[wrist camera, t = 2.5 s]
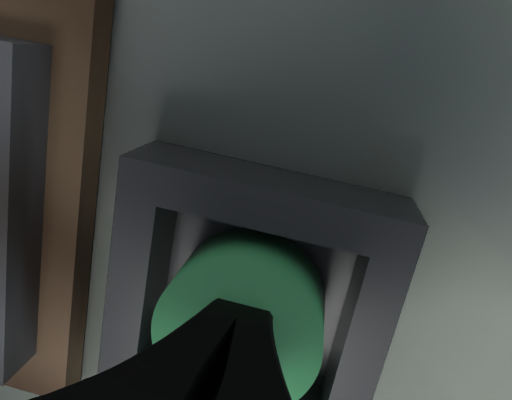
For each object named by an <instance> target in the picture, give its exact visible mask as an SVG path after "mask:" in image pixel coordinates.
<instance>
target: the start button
mask: <svg viewBox="0 0 512 400" xmlns="http://www.w3.org/2000/svg"><path fill="white" fill-rule="evenodd" d="M217 298H220V299H224V300H228V301H232V302H236V303H240V304H244V305H248V306H252V307H255V308H259V309H263V310H267V311H270V312H271V314H272V316H273V332H274V339H275V345H276V349H277V354H278V358H279V361H280V365H281V369H282V372H283V376H284V379H285V382H286V385H287V388H288V390H289V393H290V396H291V399H292V400H299V399H300V398H301V397H302V396H303V395H304V394H305V393H306V392H307V391H308V390H309V389H310V387H311V386H312V385H313V383H314V381H315V379H316V378H317V376H318V373H319V370H320V368H321V364H322V359H323V344H324V319H325V291H324V286H323V282H322V279H321V277H320V274H319V272H318V270H317V268H316V267H315V265H314V263H313V262H312V261H311V259H310V258H309V257H308V255H307V254H306V253H305V252H304V251H303V250H302V249H301V248H299V247H298V246H297V245H295V244H294V243H293V242H291V241H290V240H288V239H286V238H285V237H282V236H278V235H273V234H269V233H265V232H261V231H257V230H252V229H248V228H239V229H232V230H227V231H224V232H221V233H218V234H216V235H214V236H212V237H210V238H209V239H207V240H206V241H204V242H203V243H202V244H201V245H200V246H198V247H197V248H196V249H195V251H194V252H193V253H192V254H191V256H190V257H189V258H188V260H187V261H186V262H185V264H184V265H183V266H182V268H181V269H180V270H179V272H178V273H177V274H176V276H175V277H174V279H173V280H172V281H171V283H170V284H169V285H168V287H167V288H166V289H165V291H164V292H163V293H162V295H161V297H160V298H159V300H158V302H157V304H156V307H155V309H154V312H153V317H152V322H151V339H152V344H154V343H156V342H157V341H159V340H161V339H162V338H164V337H165V336H167V335H168V334H170V333H171V332H172V331H174V330H175V329H177V328H178V327H179V326H181V325H182V324H184V323H185V322H186V321H188V320H189V319H190V318H192V317H193V316H194V315H196V314H197V313H198V312H200V311H201V310H202V309H203V308H204V307H206V306H207V305H208V304H209V303H211V302H212V301H213V300H215V299H217Z"/></svg>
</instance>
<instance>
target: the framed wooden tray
mask: <svg viewBox="0 0 512 400" xmlns="http://www.w3.org/2000/svg"><path fill="white" fill-rule="evenodd" d="M113 10H114V0H0V385H7V386H10V387H14V388H17V389H20V390H24V391H27V392H31V393H34V394H38V395H41V396H42V395H45V394H48V393H50V392H53V391H56V390H58V389H61V388H63V387H66V386H69V385H71V384H74V383H77V382H79V381H80V380H81V369H82V358H83V346H84V335H85V324H86V313H87V302H88V290H89V279H90V268H91V257H92V246H93V234H94V223H95V212H96V201H97V190H98V178H99V167H100V156H101V145H102V134H103V122H104V111H105V100H106V89H107V77H108V66H109V55H110V44H111V33H112V21H113Z"/></svg>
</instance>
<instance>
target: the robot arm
mask: <svg viewBox="0 0 512 400" xmlns="http://www.w3.org/2000/svg"><path fill="white" fill-rule="evenodd" d="M29 400H292V399H291V396H290V393H289V390H288V388H287V385H286V382H285V379H284V376H283V372H282V369H281V365H280V361H279V358H278V354H277V349H276V345H275V339H274V332H273V316H272V314H271V312H270V311H267V310H263V309H259V308H255V307H252V306H248V305H244V304H240V303H236V302H232V301H228V300H224V299H220V298H217V299H215V300H213V301H212V302H211V303H209V304H208V305H207V306H206V307H204V308H203V309H202V310H201V311H200V312H198V313H197V314H196V315H194V316H193V317H192V318H190V319H189V320H188V321H186V322H185V323H184V324H182V325H181V326H179V327H178V328H177V329H175V330H174V331H172V332H171V333H170V334H168V335H167V336H165V337H164V338H162V339H161V340H159V341H157V342H156V343H154V344H152V345H151V346H149V347H148V348H146V349H144V350H143V351H141V352H139V353H138V354H136V355H134V356H133V357H131V358H129V359H127V360H125V361H123V362H122V363H120V364H118V365H116V366H114V367H112V368H110V369H107V370H105V371H103V372H101V373H99V374H97V375H94V376H92V377H90V378H87V379H84V380H82V381H79V382H77V383H74V384H71V385H69V386H66V387H63V388H61V389H58V390H56V391H53V392H50V393H48V394H45V395H42V396H38V397H35V398H32V399H29Z"/></svg>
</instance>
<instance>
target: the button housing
mask: <svg viewBox="0 0 512 400" xmlns="http://www.w3.org/2000/svg"><path fill="white" fill-rule="evenodd" d="M428 227H429V226H428V225H427V223H426V221H425V219H424V218H423V216H422V214H421V212H420V211H419V209H418V207H417V205H416V204H415V202H414V200H413V198H409V197H404V196H400V195H396V194H391V193H387V192H382V191H378V190H373V189H369V188H364V187H360V186H355V185H351V184H346V183H342V182H338V181H333V180H329V179H324V178H320V177H315V176H311V175H306V174H302V173H297V172H293V171H289V170H284V169H280V168H275V167H271V166H266V165H262V164H257V163H253V162H248V161H244V160H240V159H235V158H231V157H226V156H222V155H217V154H213V153H208V152H204V151H199V150H195V149H191V148H186V147H182V146H177V145H173V144H168V143H164V142H159V141H152V142H150V143H148V144H145V145H143V146H141V147H139V148H136V149H134V150H132V151H129V152H127V153H125V154H123V155H120V158H119V168H118V178H117V187H116V197H115V207H114V217H113V227H112V236H111V246H110V256H109V266H108V275H107V285H106V295H105V305H104V315H103V324H102V334H101V344H100V354H99V364H98V373H97V374H99V373H101V372H103V371H105V370H107V369H110V368H112V367H114V366H116V365H118V364H120V363H122V362H123V361H125V360H127V359H129V358H131V357H133V356H134V355H136V354H138V353H139V352H141V351H143V350H144V349H146V348H148V347H149V346H151V345H152V339H151V322H152V317H153V312H154V309H155V307H156V304H157V302H158V300H159V298H160V297H161V295H162V293H163V292H164V291H165V289H166V288H167V287H168V285H169V284H170V283H171V281H172V280H173V279H174V277H175V276H176V274H177V273H178V272H179V270H180V269H181V268H182V266H183V265H184V264H185V262H186V261H187V260H188V258H189V257H190V256H191V254H192V253H193V252H194V251H195V249H196V248H197V247H198V246H200V245H201V244H202V243H203V242H204V241H206V240H207V239H209V238H210V237H212V236H214V235H216V234H218V233H221V232H224V231H227V230H232V229H239V228H248V229H252V230H257V231H261V232H265V233H269V234H273V235H278V236H282V237H285V238H286V239H288V240H290V241H291V242H293V243H294V244H295V245H297V246H298V247H299V248H301V249H302V250H303V251H304V252H305V253H306V254H307V255H308V257H309V258H310V259H311V261H312V262H313V263H314V265H315V267H316V268H317V270H318V272H319V274H320V277H321V279H322V282H323V286H324V291H325V319H324V344H323V359H322V364H321V368H320V370H319V373H318V376H317V378H316V379H315V381H314V383H313V385H312V386H311V387H310V389H309V390H308V391H307V392H306V393H305V394H304V395H303V396H302V397H301V398H300V399H299V400H372V399H373V396H374V393H375V390H376V387H377V384H378V381H379V378H380V374H381V371H382V368H383V365H384V362H385V359H386V356H387V353H388V350H389V347H390V344H391V341H392V338H393V335H394V332H395V328H396V325H397V322H398V319H399V316H400V313H401V310H402V307H403V304H404V301H405V298H406V295H407V292H408V289H409V286H410V282H411V279H412V276H413V273H414V270H415V267H416V264H417V261H418V258H419V255H420V252H421V249H422V246H423V243H424V240H425V236H426V233H427V230H428Z"/></svg>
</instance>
